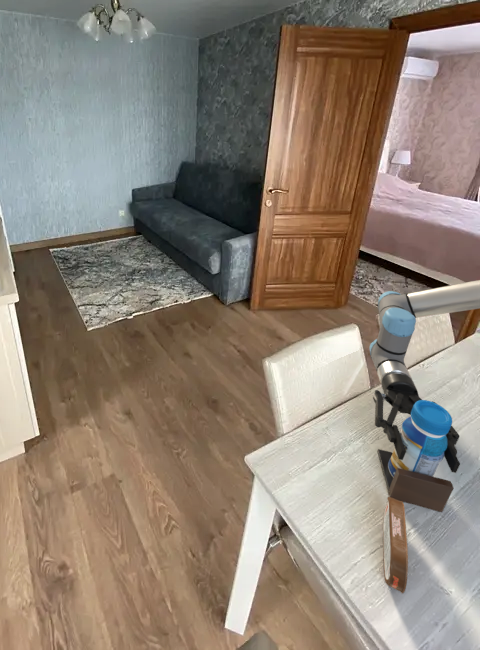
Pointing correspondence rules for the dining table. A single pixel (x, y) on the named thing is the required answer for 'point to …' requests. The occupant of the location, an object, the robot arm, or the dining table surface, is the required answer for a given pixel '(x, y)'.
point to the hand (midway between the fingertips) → (428, 461)
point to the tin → (395, 545)
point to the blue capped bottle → (423, 439)
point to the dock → (415, 486)
